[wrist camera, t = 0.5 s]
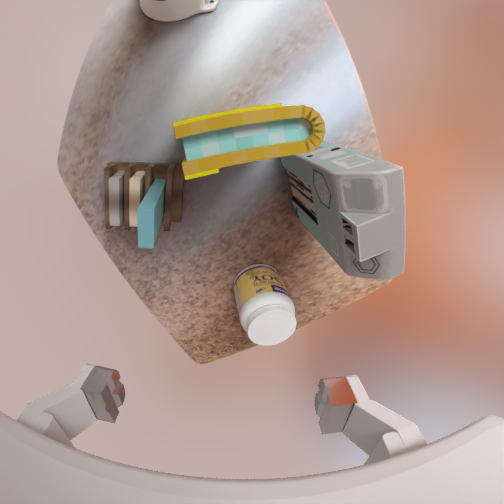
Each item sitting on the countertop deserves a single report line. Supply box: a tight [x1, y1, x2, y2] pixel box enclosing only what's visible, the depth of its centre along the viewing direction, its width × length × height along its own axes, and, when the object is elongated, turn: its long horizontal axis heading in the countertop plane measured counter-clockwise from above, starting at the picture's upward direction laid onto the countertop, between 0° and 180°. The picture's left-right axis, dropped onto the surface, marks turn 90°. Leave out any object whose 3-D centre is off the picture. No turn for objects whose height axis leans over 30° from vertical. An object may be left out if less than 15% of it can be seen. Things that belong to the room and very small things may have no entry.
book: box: [173, 103, 325, 180], centre depth 39 cm, size 17×7×25 cm, turn 99°
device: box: [280, 141, 406, 280], centre depth 44 cm, size 16×8×30 cm, turn 17°
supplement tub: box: [233, 264, 296, 346], centre depth 61 cm, size 12×12×17 cm
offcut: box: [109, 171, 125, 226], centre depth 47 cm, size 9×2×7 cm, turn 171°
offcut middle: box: [129, 171, 145, 227], centre depth 48 cm, size 9×2×7 cm, turn 171°
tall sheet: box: [137, 179, 166, 248], centre depth 44 cm, size 6×2×18 cm, turn 171°
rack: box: [105, 162, 184, 231], centre depth 49 cm, size 12×16×6 cm
